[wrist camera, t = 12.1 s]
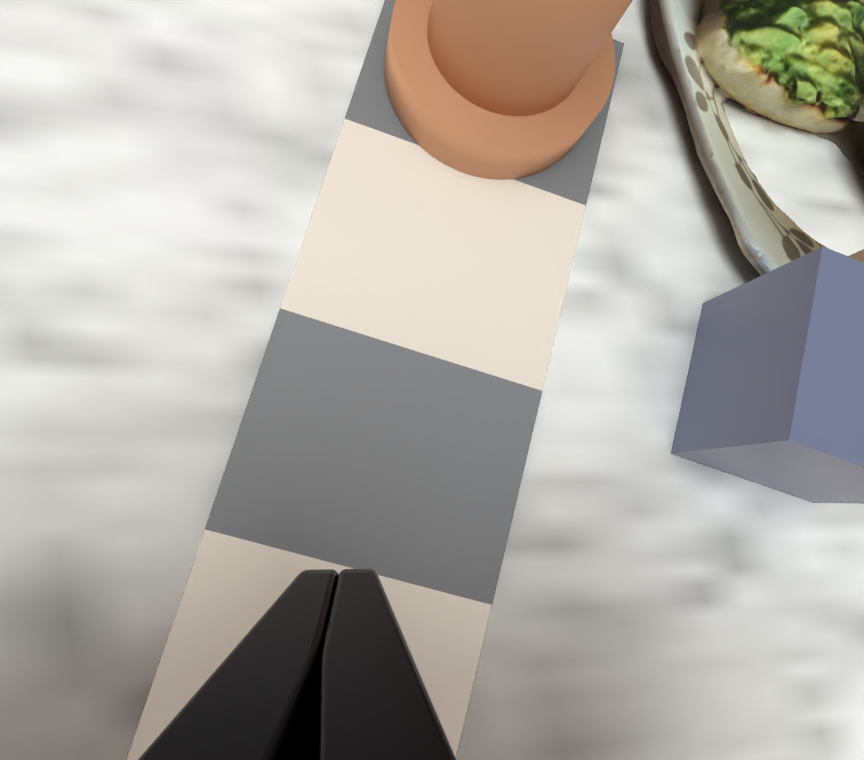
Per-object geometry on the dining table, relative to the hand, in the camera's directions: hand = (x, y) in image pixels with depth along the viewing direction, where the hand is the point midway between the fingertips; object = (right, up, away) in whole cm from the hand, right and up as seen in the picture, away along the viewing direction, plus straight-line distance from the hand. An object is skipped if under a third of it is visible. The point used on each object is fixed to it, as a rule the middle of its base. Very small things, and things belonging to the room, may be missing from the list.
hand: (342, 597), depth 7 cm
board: (0, +1, +8) cm, 9 cm away
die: (+10, +2, +11) cm, 15 cm away
